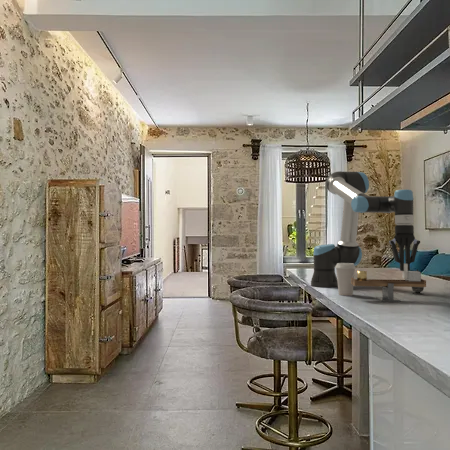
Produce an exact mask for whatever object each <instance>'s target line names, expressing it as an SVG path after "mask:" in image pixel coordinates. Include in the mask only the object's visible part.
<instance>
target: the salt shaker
mask: <svg viewBox="0 0 450 450" xmlns="http://www.w3.org/2000/svg"><path fill="white" fill-rule="evenodd" d="M416 271H417V272H420V270H419V269H416ZM420 274H421V275H422V273H421V272H420ZM424 288H425V287H411V290H412V291H413V292H412V293H411V295H417V296H423V294H424V293H423V291H424V290H425V289H424Z"/></svg>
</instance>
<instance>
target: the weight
mask: <svg viewBox="0 0 450 450" xmlns="http://www.w3.org/2000/svg"><path fill="white" fill-rule="evenodd" d="M356 273H357V274H356V277H357V278H356V279H357V281H367V279H368V275H367V274H368V271H367V270H357V272H356Z"/></svg>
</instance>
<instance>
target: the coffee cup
mask: <svg viewBox="0 0 450 450" xmlns="http://www.w3.org/2000/svg"><path fill="white" fill-rule="evenodd" d="M355 269H357V267H356V266H354V264H353V263H337V265H336V266H335V273H336V277H337V281H338V286H337V290H338V296H346V297H347V296H353V295H354V285H352V284H351V278H354V279H355V273H356V272H355Z"/></svg>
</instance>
